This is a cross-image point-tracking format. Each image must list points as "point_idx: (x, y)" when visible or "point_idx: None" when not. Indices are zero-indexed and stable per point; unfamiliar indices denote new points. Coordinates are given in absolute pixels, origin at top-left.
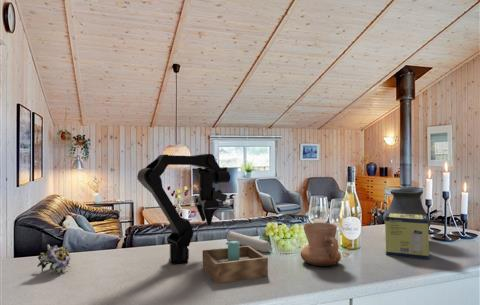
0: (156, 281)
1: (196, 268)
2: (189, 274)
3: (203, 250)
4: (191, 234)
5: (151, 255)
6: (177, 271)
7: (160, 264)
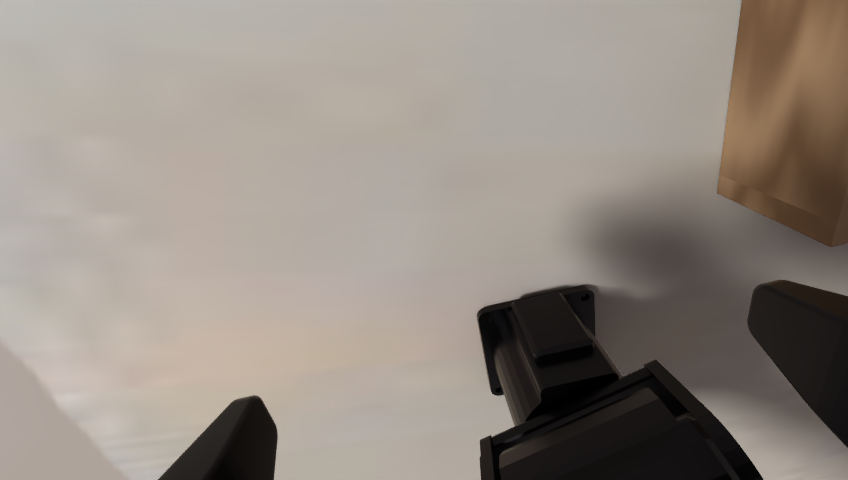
0: None
1: (721, 231)
2: (804, 265)
3: (839, 239)
4: (722, 430)
5: (375, 473)
6: (720, 326)
7: None
